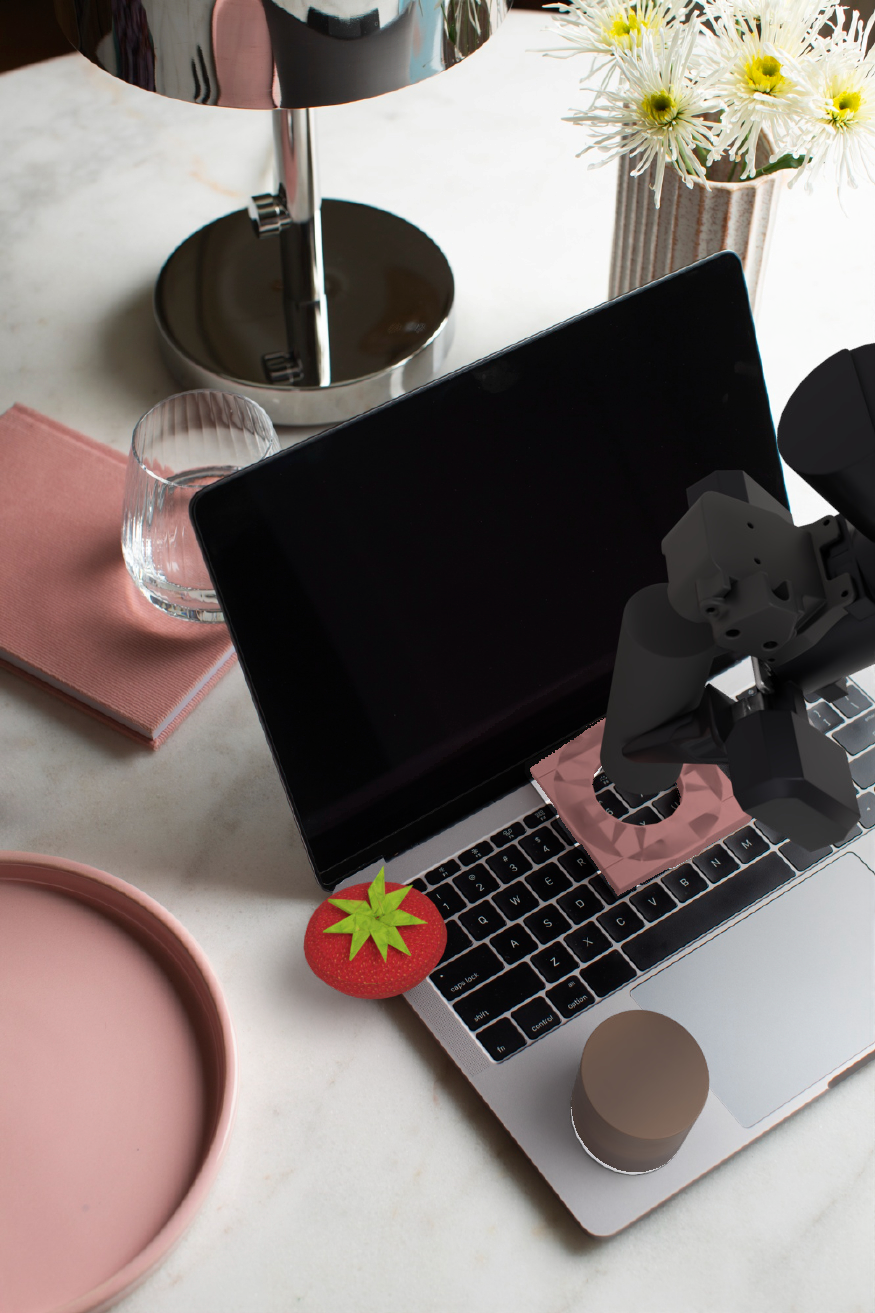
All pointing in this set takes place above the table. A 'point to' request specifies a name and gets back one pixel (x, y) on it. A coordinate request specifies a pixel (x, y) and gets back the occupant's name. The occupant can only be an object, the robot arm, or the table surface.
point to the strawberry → (375, 939)
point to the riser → (638, 1090)
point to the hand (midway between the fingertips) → (623, 716)
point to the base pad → (625, 846)
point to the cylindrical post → (652, 685)
